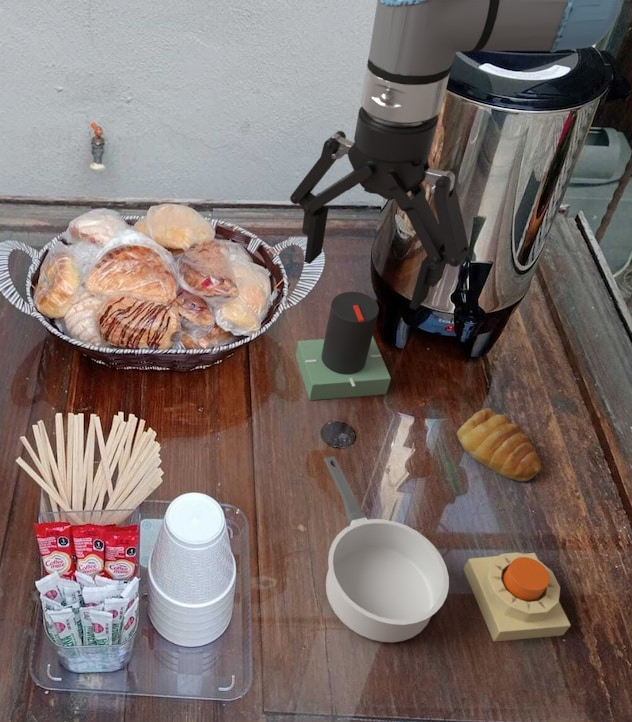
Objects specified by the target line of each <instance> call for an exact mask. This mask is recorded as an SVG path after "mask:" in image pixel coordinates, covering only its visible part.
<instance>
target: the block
mask: <svg viewBox="0 0 632 722" xmlns="http://www.w3.org/2000/svg"><path fill="white" fill-rule="evenodd" d="M520 557H527V558H531V559H534V560H536V561H538V562H539V563H541V564H542V565H543V566H544V567H545V569H546V570H547V572H548V574H549V584H548V586H547V587H546V589H545V590H544V591H543V593H542V594H541V596H540V597H539V598H537V599H535V600H529V601H528V600H522V599H519V598H517V597H515V596H514V595H513V594H511V593H510V592H509V591H508V589H507V588H506V586H505V584H504V574H505V572H506V571H507V569H508V567H509V566H510V564H511V562H512V561H513V560H515V559H516V558H520ZM463 571H464V574H465V576H466V579H467V581H468V583H469V586H470V588H471V591H472V593H473V596H474V598H475V601H476V603H477V605H478V607H479V610H480V612H481V615H482V618H483V619H484V622H485V624H486V627H487V629H488V632H489V634H490V636H491V639H492V641H493V642H503V641H517V640H526V639H527V640H528V639H535V638H536V639H538V638H549V637H550V638H551V637H561V636H564V635H565V633H567V631H568V630H569V629H570V627H571V625H572V624H571V623H570V620H569V619H568V617H567V614H566V612H565V611H564V609H563V607H562V604H561V602H560V595H561V586H560V584H559V582H558V580H557V578H556V576H555V574H554V572H553V571H552V570H551V569H550V568H549V567H548V566H547V565H546V564H545V563H543V562H542V561H540V560H539V558H538V557H537V554H536V553H535V552H529V553H523V552H517V551H516V552H509V553H508V552H507V553H501V554H499V555H494V556H484V557H471V558H468V560H467V561H466V563H465V565H464V567H463Z"/></svg>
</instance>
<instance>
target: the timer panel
mask: <svg viewBox="0 0 632 722" xmlns="http://www.w3.org/2000/svg"><path fill="white" fill-rule="evenodd" d="M324 339H325V338H318V339H305V340H304V339H303V340H297V346H296V347H297V348H296V351H295V358H296V362H297V365H298V369H299V372H300V375H301V378H302V381H303V384H304V388H305V390H306V394H307V397H308V400H309V401H320V400H332V399H346V398H356V397H368V396H369V397H370V396H381V395H387V394H388V390H389V387H390V383H391V380H392V378H391V375H390V373H389V371H388V369H387V366H386V364H385V361H384V359H383V356H382V354H381V352H380V349H379V347H378V345H377V343H376V340H375V338H374V335H373V336H372V340H371V344H370V348H369V352H368V356H367V360H366V364H365V366H364V368H363V369H362V370H360V371H359V372H357V373H354V374H340V373H336V372H334V371H332V370H330V369H329V368H327V367H326V366H325V365H324V363H323V361H322V358H321V355H322V350H323V345H324Z"/></svg>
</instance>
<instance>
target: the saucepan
mask: <svg viewBox="0 0 632 722" xmlns="http://www.w3.org/2000/svg"><path fill="white" fill-rule="evenodd" d="M323 462H324V463H325V465H326V468H327V470H328V472H329V474H330V476H331V478H332V480H333V482H334V484H335V487H336V489H337V491H338V493H339V495H340V498H341V499H342V503H343V508H344V513H345V514H344V515H345V522H346V524H347V526H346V527H345V528H343V529H342V530H341V531H340V532H339V533H338V534H336V536H335V538H334V539H333V541H332V543H331V545H330V548H329V550H328V558H327V565H328V570H327V573H326V577H325V590H326V597H327V600H328V603H329V605H330V607H331V608H332V610H333V612H334V613H335V615H336V616H337V617H338V619H339V620H340V621H341V622H342V623H343V624H344V625H345V626H346V627H348V628H349V629H350V630H352V632H355V633H357V634H358V635H360V636H362V637H364V638H366V639H369V640H372V641H377V642H381V643H398V642H403V641H407V640H410V639H413V638H414V637H415V636H417V635H418V634H420V633H421V632H422V631H423V630H424V629H425V628H426V627H427V626H428V624H429V622H430V620H431V618H432V616H433V615H435V614H436V613H437V612H438V611H439V610H440V609H441V608H442V606H443V605H444V603H445V601H446V599H447V597H448V592H449V588H450V577H449V576H450V575H449V572H448V568H447V565H446V562H445V561H444V559H443V556H442V554H441V553H440V552H439V550H438V549H437V548H436V546H435V545H434V544H433V543H432V542H431V541H430V540H429V539H428V538H427V537H425V535H423V534H422V533H420V532H419V531H417V530H416V529H414V528H412V527H410V526H408V525H406V524H403V523H400V522H397V521H395V520H388V519H382V518H381V519H380V518H370V519H368V516H367V514H366V513H365V512H364V511H363V510H362V507H361V505H360V503H359V501H358V499H357V497H356V496H355V494H354V492H353V490H352V488H351V486H350V484H349V481H348V480H347V478H346V476H345V474H344V471H342V469H341V466H340V465H339V463H338V460H337V459H336V457H335V455H331V456H327V457H325V458H324V459H323Z"/></svg>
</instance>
